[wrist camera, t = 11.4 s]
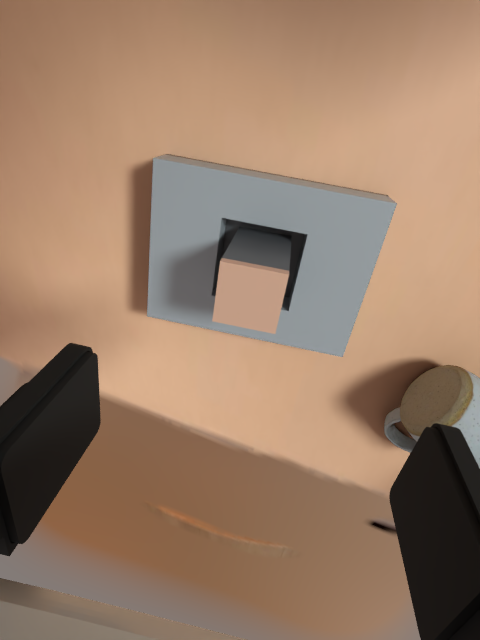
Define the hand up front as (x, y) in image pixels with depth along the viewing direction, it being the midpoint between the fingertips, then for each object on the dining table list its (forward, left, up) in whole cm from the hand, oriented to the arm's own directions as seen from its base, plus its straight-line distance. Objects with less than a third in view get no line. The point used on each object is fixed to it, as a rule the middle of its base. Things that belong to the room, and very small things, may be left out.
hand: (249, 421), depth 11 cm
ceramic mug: (-17, +13, -21) cm, 30 cm away
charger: (+1, +2, -20) cm, 20 cm away
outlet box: (+1, +2, -21) cm, 21 cm away
